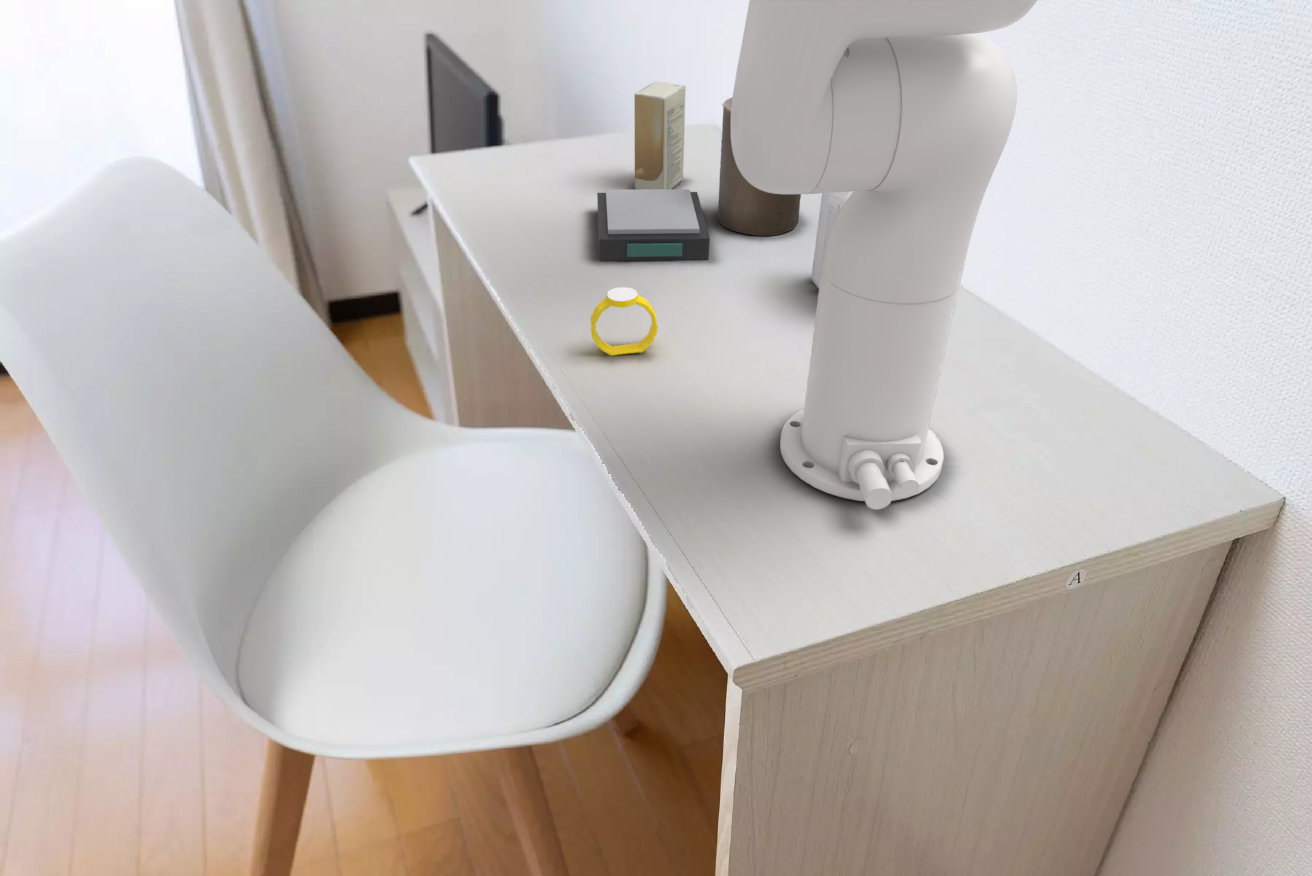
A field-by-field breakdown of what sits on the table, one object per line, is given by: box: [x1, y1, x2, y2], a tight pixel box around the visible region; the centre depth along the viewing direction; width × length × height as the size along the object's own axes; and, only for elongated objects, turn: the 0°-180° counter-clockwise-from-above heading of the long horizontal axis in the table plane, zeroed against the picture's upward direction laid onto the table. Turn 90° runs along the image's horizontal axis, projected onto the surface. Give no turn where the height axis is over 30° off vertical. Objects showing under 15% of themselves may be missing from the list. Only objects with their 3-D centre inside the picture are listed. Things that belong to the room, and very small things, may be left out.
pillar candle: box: [717, 97, 802, 237], centre depth 111 cm, size 10×10×15 cm
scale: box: [596, 188, 711, 262], centre depth 110 cm, size 14×12×3 cm
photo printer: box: [811, 191, 854, 289], centre depth 95 cm, size 10×4×12 cm, turn 17°
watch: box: [590, 286, 659, 357], centre depth 87 cm, size 6×3×6 cm, turn 98°
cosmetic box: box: [633, 80, 687, 190], centre depth 121 cm, size 6×4×12 cm
